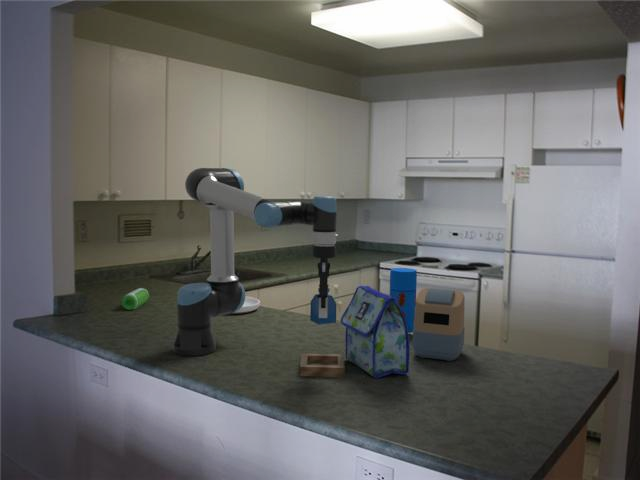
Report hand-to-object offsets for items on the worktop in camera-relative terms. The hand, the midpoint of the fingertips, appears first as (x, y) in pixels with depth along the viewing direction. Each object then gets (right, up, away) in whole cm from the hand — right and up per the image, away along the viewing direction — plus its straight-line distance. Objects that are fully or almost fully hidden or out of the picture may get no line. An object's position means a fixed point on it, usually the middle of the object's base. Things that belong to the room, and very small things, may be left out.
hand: (323, 314), depth 196 cm
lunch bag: (+17, -19, +5) cm, 25 cm away
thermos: (+33, -13, +54) cm, 65 cm away
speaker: (-87, -7, +88) cm, 124 cm away
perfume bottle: (0, -3, 0) cm, 3 cm away
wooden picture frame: (0, -18, +2) cm, 18 cm away
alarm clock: (+41, -17, +20) cm, 49 cm away
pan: (-49, -8, +91) cm, 104 cm away
